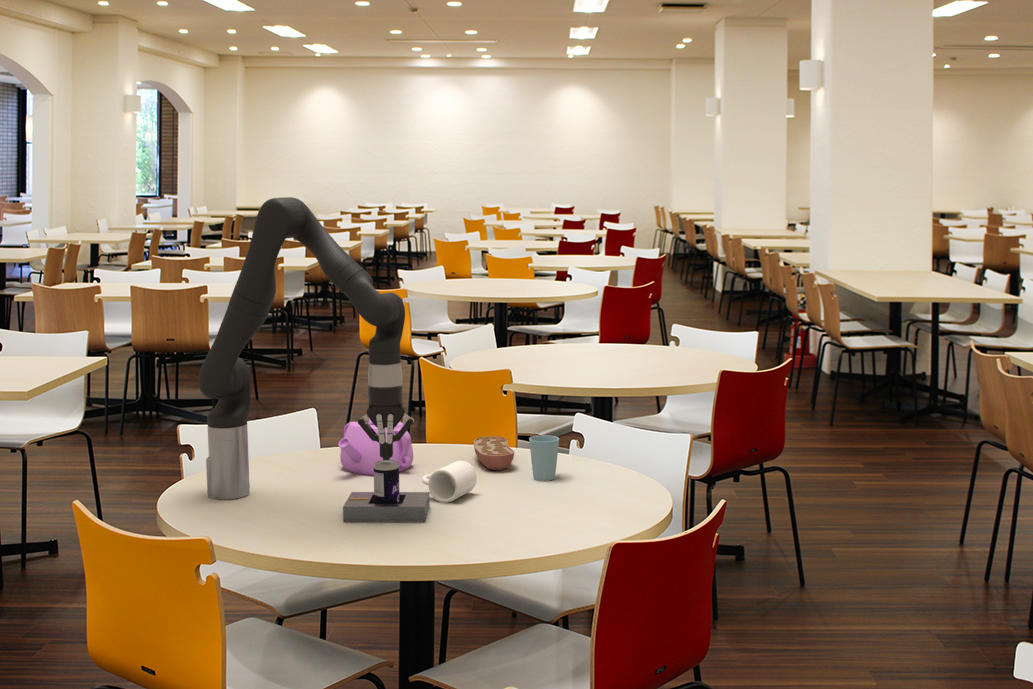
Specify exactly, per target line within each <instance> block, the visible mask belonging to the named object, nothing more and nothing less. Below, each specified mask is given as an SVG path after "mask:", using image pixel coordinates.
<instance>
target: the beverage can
mask: <svg viewBox="0 0 1033 689" xmlns="http://www.w3.org/2000/svg"><path fill="white" fill-rule="evenodd" d="M373 492H374V504H400V494H399V492H400V472H399V467H398V465H397V461H394V460H381V461H377V462H376V463H375V467H374V476H373Z"/></svg>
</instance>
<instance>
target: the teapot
mask: <svg viewBox="0 0 1033 689" xmlns="http://www.w3.org/2000/svg"><path fill="white" fill-rule="evenodd" d="M369 421H370V423H369V425H370V426H371V427H372V429H373V430H374V431H375V432H376V433H377V435H379V434H378V428H377V427H376V426H375V425H374V424H373V422H372V421H371V420H370V418H369ZM403 426H404V425H403V423H402V422H401V421H400V422H399V423H398V424H397V426H396V427H394V435H396V434H397V433H398V432H399V431H400V429H401V428H402V427H403ZM385 434H386V442H387V428H385ZM411 439H412V438H411V434H410V433H409V431H408V430H407V431H406V432H405V434H404V435H403V436H402V438H401V439H400V440H399V441H395V442H393V456H392V457H390V460H394V461H397V465H398V467H399V473H401V472H403V471H406V470H408V469H409V468H410V467H411V466H412V464H413V461H414V450H413V449H414V448H413V443H412V440H411ZM337 445H338V447H339V449H340V454H339V455H340V456H339V458H340V463H341V465H342V467H343V469H344V470H345V471H347V472H350V473H354V474H359V475H365V476H373V477H374V467H375V463H376V462H377V461H381V460H383V457H380V444H379V443H378V442H376V441H372V440H371V439H370V437H369V436H368V435H367V434H366V432H365V431H364V430H363V429H362V428H361V426H360V425H359V424H358V421H350V422H348V423H347V424H345V426H344V427H343V437H342V438H341V439H340V440H339V441H338V444H337Z"/></svg>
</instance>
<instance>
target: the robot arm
mask: <svg viewBox="0 0 1033 689" xmlns="http://www.w3.org/2000/svg"><path fill="white" fill-rule="evenodd" d="M286 239H294V240H296V241H298V242H299V243H300V244H301V245H303V246H304V247H306V248H307V249H308V250H309V251H310V252H311V254H312V255H313V256H314V257H315V259H316V260H317V263H318V265H319V266H320V269H321V270H322V273H323V274H324V275H325V277H326V278H327V279H328V280H329V281H330V283H332V284H333V285H334V286H335V287H336V288H337V289H338V290H339V291H340V292H341V293H343V295H345V297H347V298H348V300H349V301H350V303H351V304H352V306H353V307H354V309H355V310H356V312H357V313H358V314H359V316H360V317H361V318H362V319H363V320H364V321H365V322H366V323H368V324H370V325H371V326H373V327H375V333H374V335H373V336H372V338H370V339H369V342H368V368H367V369H368V372H367V374H368V375H367V385H368V386H367V387H368V408H367V409H366V414H364V415H363V416H361V417H359V419H358V420H357V422H358V424H359V425H360V426H361V428H362V429H363V430H364V431H365V432H366V434H367V435H368V436H369V437H370V439H371V440H372V441H376V442H378V443H379V444H380V457H383V460H390V457H392V456H393V442H395V441H399V440H400V439H401V438H402V436H403V435H404V434H405V432H406V431H407V432H408V430H409V429H410V427H411V426H412V425H413V423H414V421H415V418H414V417H410V416H409V415H408V414H407V413H406V410H405V408H404V405H403V404H404V401H403V398H404V397H403V381H404V379H403V371H402V363H401V362H402V361H401V359H402V356H401V354H402V353H401V342H402V341H401V340H402V337H403V331H404V327H405V326H404V325H405V320H406V308H405V303H404V301H403V299H402V298H401V296H399V295H398V294H397V293H395V292H385V293H383V292H382V293H380V292H379V291H378V290H376V288H375V287H374V286H373V283H374V280H373V278H372V276H371V274H370V273H369V272H368V271H367V270H365V269H364V268H363V267H362V266H361V265H360V264H359V263H357V261H356V260H355V259H353V258H352V257H351V256H350V255H349V254H348V253H347V252H346V251H345V250H344V249H343V248H342V247H341V246H340V245H339V244H338V243H337V241H336V240H335V239H334V238H333V236H332V235H331V234H330V233H329V232H328V230H326V228H325V227H324V226H323V225H322V223H321V222H320V221H319V220H318V218H317V217H316V216H315V214H314V213H313V211H311V209H310V207H308V205H307V204H305V203H304V202H303V201H302V200H300V199H299V198H296V197H289V196H287V197H273V198H270V199H267V200H266V201H265V202H263V204H262V205H261V206H260V208H259V210H258V212H257V215H256V219H255V222H254V227H253V231H252V235H251V239H250V242H249V246H248V250H247V253H246V255H245V258H244V262H243V264H242V266H241V270H240V273H239V276H238V278H237V281H236V283H235V285H234V288H233V290H232V293H231V296H230V298H229V302H228V305H227V308H226V311H225V314H224V316H223V318H222V321H221V323H220V326H219V328H218V331H217V333H216V337H214V340H213V343H212V344H211V347H210V349H209V350H208V353H207V355H206V356H205V358H204V361H203V363H202V365H201V367H200V370H199V374H198V386H199V390H200V392H201V393H202V395H204V397H206V398H208V399H212V400H217V403H216V405H215V406H214V408H212V409H211V411H210V412H208V414H207V416H206V417H207V422H206V424H207V443H208V444H207V446H208V447H207V448H208V449H207V450H208V457H206V459H205V463H206V466H205V467H206V468H205V469H206V487H207V488H206V489H207V491H206V493H207V498H210V499H211V498H213V499H218V500H233V499H241V498H244V497H247V496H249V495H250V493H251V492H250V488H251V487H250V461H249V460H250V459H249V458H250V457H249V436H248V435H249V434H248V433H249V431H248V417H249V414H250V411H251V396H252V395H251V393H252V392H251V390H252V389H251V387H252V386H251V384H252V383H251V382H252V381H251V378H252V377H251V374H250V369H249V366H248V365H247V363H246V361H245V360H243V359H242V358H240V357H239V356H240V355H241V352H242V351H243V349H244V348H245V346H246V345H247V344H248V343H249V341H251V339H252V338H253V337H254V336H255V335H256V334H257V333H258V331H259V330H260V329H261V327H262V326H263V325H264V324H265V322H266V320H267V318H268V316H269V314H270V311H271V308H272V305H273V303H274V300H275V298H276V291H277V280H276V263H277V259H278V256H279V253H280V251H281V249H282V247H283V244H284V242H285V241H286ZM369 419H370V420H371V421H372V422H373V424H374V425H375V426H376V427H377V428H378V434H379V435H377V433H376V432H375V431H374V430H373V429H372V427H371V426H370V425H369V423H370V421H369ZM401 421H402V422H401ZM399 422H401V423H403V425H404V426H403V427H402V428H401V429H400V431H399V432H398V433H397V434H396V435H394V427H396V426H397V424H398V423H399ZM385 428H387V442H386V434H385Z"/></svg>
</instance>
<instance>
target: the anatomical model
mask: <svg viewBox="0 0 1033 689" xmlns="http://www.w3.org/2000/svg"><path fill="white" fill-rule="evenodd" d="M473 450H474V453H475V455H476V457H477V459H478V460H479V461H480V462H481V463H482V464H483V465H484V466H485V467H486V468H487V469H489V470H493V471H501V470H505V469H506V468H508V467H509V466H510V464H512V462H513V461H514V456H515V450H514V449H512V448H511V447H510V446H509V444H508V438H506V437H502V436H495V435H493V436H491V435H490V436H481V437H477V438H475V439H474V441H473Z"/></svg>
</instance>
